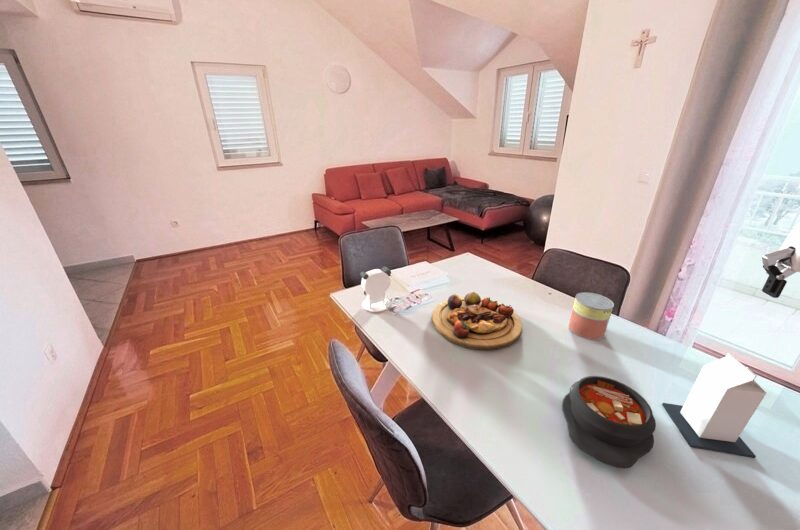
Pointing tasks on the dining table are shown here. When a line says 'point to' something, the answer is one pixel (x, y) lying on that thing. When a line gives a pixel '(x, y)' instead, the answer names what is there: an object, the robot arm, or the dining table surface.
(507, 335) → the wooden plate
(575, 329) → the canned food
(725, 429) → the milk carton
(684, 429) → the mat
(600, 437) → the casserole
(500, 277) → the dining table surface
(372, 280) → the panda figurine
